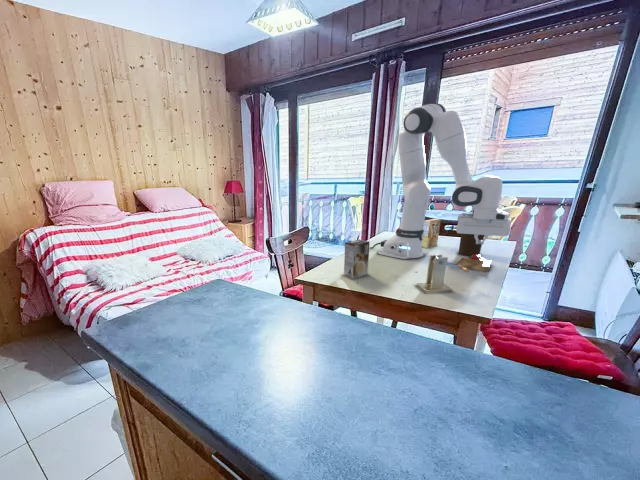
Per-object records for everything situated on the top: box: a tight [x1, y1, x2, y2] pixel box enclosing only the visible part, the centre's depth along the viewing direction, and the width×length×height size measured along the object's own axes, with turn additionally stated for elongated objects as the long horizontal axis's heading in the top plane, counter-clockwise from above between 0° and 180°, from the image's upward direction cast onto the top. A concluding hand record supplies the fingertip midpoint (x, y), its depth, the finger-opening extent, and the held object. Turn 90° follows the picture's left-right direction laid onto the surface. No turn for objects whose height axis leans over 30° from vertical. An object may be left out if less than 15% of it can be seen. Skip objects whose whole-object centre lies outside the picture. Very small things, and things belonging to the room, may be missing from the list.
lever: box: [432, 256, 470, 273], centre depth 129 cm, size 13×6×2 cm, turn 90°
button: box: [471, 254, 482, 260], centre depth 153 cm, size 4×4×2 cm
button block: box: [457, 256, 492, 272], centre depth 154 cm, size 12×10×4 cm
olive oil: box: [458, 205, 485, 257], centre depth 167 cm, size 11×11×25 cm
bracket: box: [416, 253, 452, 293], centre depth 130 cm, size 10×8×14 cm
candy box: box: [422, 218, 442, 249], centre depth 186 cm, size 9×4×15 cm, turn 116°
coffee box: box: [343, 239, 371, 278], centre depth 149 cm, size 9×6×16 cm
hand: (479, 244), depth 150 cm, fingers closed
